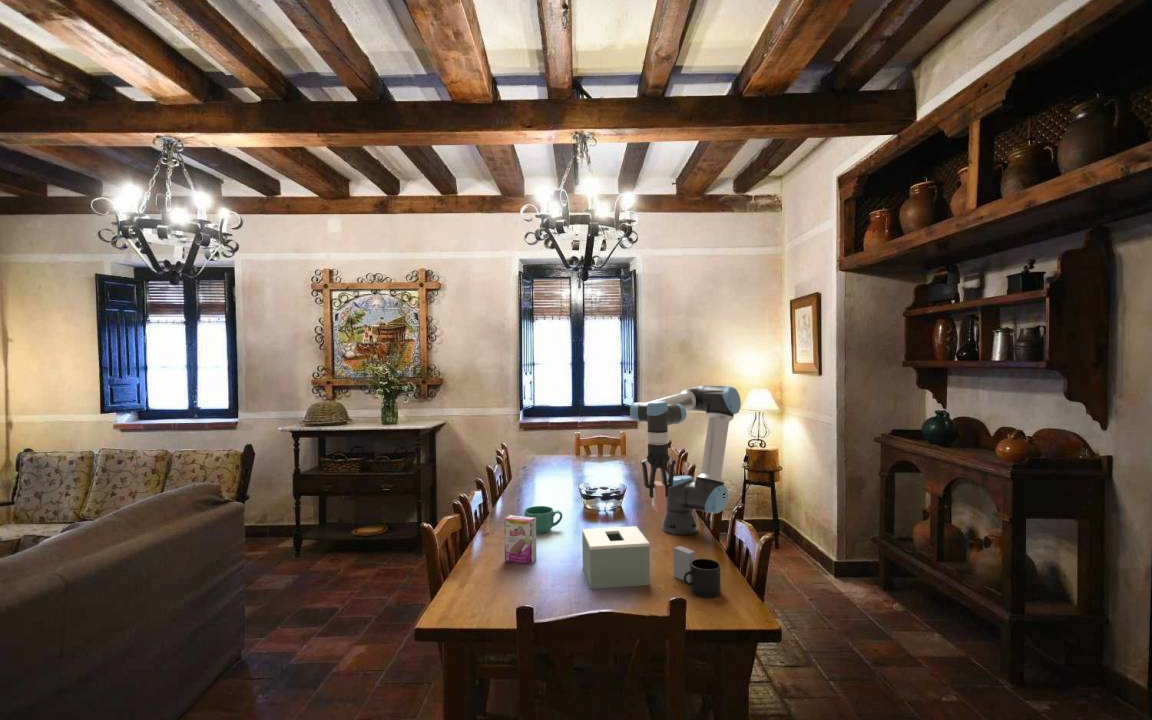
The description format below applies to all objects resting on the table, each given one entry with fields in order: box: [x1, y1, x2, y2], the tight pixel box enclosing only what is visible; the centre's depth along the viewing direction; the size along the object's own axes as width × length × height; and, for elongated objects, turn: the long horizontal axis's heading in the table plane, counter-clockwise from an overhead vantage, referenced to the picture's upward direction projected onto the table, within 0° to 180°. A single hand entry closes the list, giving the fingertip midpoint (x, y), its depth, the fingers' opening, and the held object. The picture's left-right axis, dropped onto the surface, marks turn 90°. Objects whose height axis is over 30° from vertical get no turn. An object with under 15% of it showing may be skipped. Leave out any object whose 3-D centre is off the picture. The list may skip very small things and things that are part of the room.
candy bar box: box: [504, 514, 537, 566], centre depth 203 cm, size 11×5×16 cm, turn 71°
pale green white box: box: [581, 525, 651, 590], centre depth 189 cm, size 20×18×14 cm
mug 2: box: [683, 558, 722, 599], centre depth 175 cm, size 9×12×9 cm
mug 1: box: [524, 505, 563, 535], centre depth 238 cm, size 17×13×10 cm
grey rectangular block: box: [673, 545, 696, 583], centre depth 186 cm, size 3×7×10 cm, turn 38°
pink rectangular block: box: [651, 480, 666, 514], centre depth 202 cm, size 3×7×10 cm, turn 8°
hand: (658, 505), depth 202 cm, fingers closed on pink rectangular block, 3 cm apart
